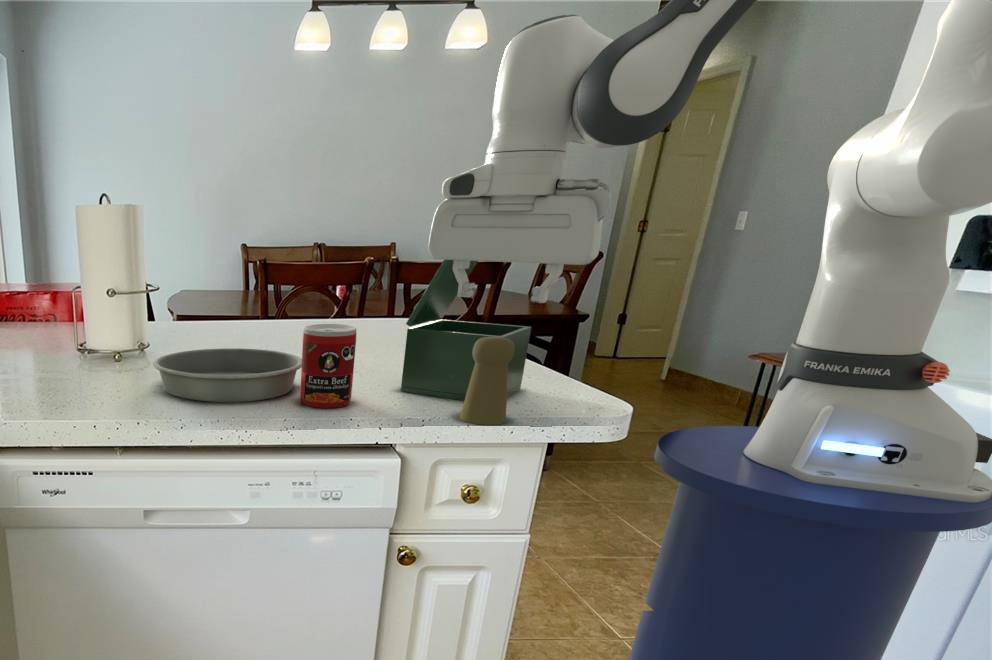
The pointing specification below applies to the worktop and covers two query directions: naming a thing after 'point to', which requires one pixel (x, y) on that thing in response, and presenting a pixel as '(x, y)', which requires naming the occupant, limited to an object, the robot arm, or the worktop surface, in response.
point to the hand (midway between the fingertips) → (500, 299)
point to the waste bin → (456, 356)
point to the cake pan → (228, 374)
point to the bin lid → (438, 294)
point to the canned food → (327, 365)
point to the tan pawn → (488, 382)
